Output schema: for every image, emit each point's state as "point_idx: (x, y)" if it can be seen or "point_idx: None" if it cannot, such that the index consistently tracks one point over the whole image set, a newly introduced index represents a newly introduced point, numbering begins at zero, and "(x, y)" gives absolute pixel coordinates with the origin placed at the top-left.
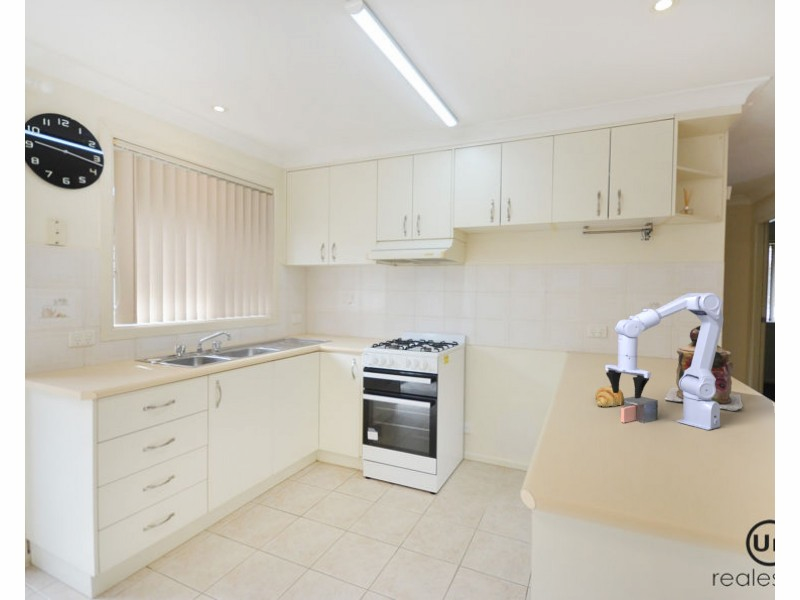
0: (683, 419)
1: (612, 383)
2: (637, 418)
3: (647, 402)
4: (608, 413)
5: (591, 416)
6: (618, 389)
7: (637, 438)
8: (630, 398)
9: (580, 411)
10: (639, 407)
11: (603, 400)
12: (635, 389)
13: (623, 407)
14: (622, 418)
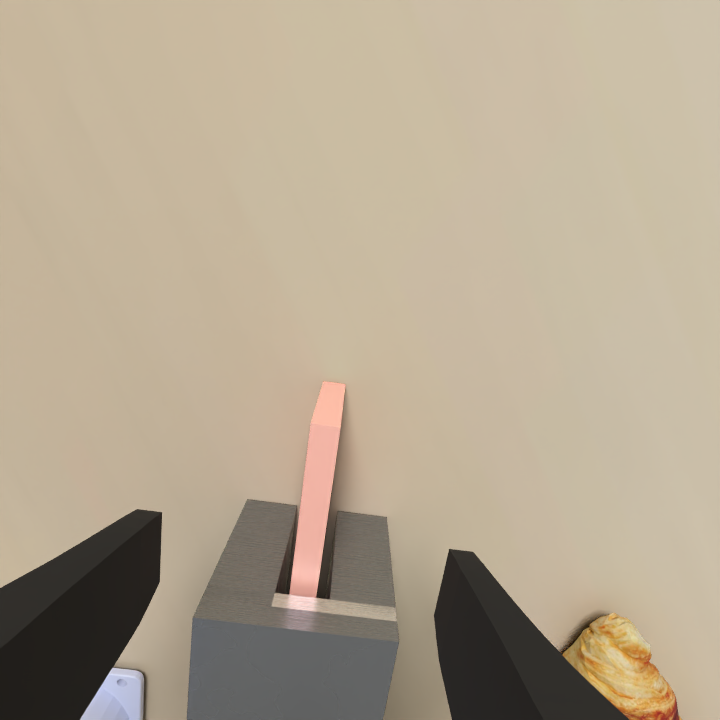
0: (108, 707)
1: (530, 659)
2: (289, 517)
3: (190, 659)
4: (501, 522)
5: (558, 351)
6: (441, 653)
7: (89, 104)
8: (359, 674)
9: (671, 406)
10: (256, 579)
11: (612, 670)
12: (57, 588)
13: (334, 458)
14: (332, 392)
